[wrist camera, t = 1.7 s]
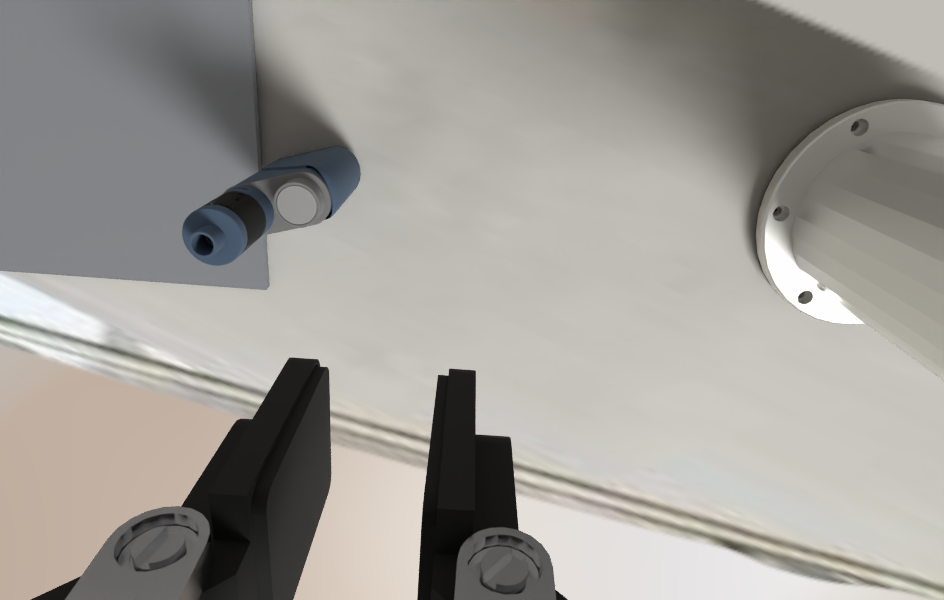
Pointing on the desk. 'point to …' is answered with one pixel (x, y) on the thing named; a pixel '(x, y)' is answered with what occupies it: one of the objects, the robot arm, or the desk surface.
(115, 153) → the mat
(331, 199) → the vaping device
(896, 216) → the robot arm
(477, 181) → the desk surface
